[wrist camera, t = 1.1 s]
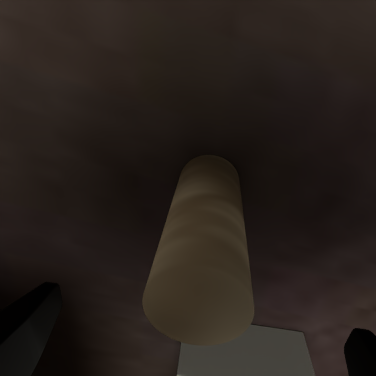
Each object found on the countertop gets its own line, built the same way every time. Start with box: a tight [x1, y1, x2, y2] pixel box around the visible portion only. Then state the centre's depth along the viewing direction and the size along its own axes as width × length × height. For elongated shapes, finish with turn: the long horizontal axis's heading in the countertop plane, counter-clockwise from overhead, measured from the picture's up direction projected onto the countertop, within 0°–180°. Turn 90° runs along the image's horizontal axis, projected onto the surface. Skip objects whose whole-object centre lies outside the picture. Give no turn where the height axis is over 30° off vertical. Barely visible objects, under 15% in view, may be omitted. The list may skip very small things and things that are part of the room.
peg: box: [142, 155, 254, 346], centre depth 13 cm, size 4×4×9 cm
